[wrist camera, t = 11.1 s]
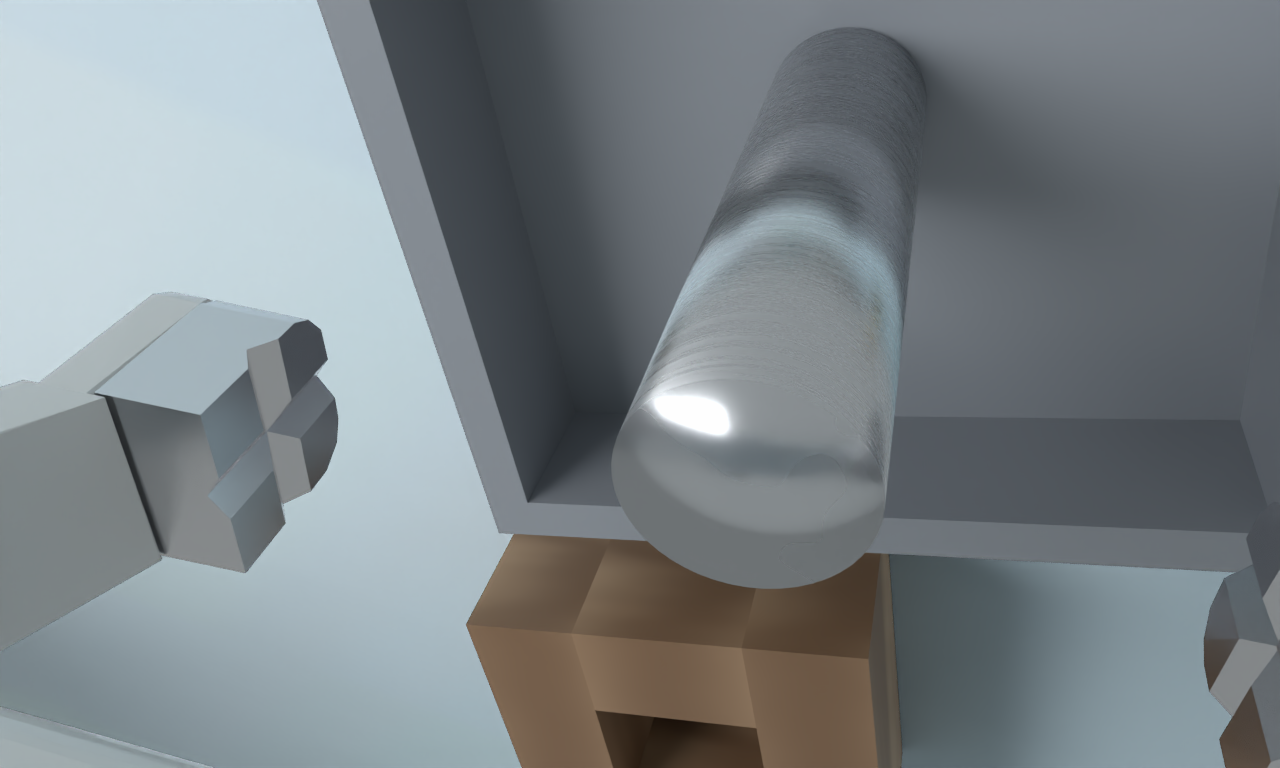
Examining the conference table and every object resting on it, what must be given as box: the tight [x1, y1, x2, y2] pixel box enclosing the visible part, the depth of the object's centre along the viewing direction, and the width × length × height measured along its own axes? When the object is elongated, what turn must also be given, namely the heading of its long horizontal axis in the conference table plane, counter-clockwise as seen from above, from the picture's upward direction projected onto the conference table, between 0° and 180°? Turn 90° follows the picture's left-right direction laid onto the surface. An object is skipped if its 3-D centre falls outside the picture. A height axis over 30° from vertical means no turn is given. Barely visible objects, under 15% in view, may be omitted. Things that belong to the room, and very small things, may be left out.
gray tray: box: [317, 0, 1280, 572], centre depth 15 cm, size 14×14×4 cm
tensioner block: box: [466, 534, 902, 768], centre depth 23 cm, size 8×8×4 cm
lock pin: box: [611, 27, 927, 589], centre depth 12 cm, size 2×2×9 cm
